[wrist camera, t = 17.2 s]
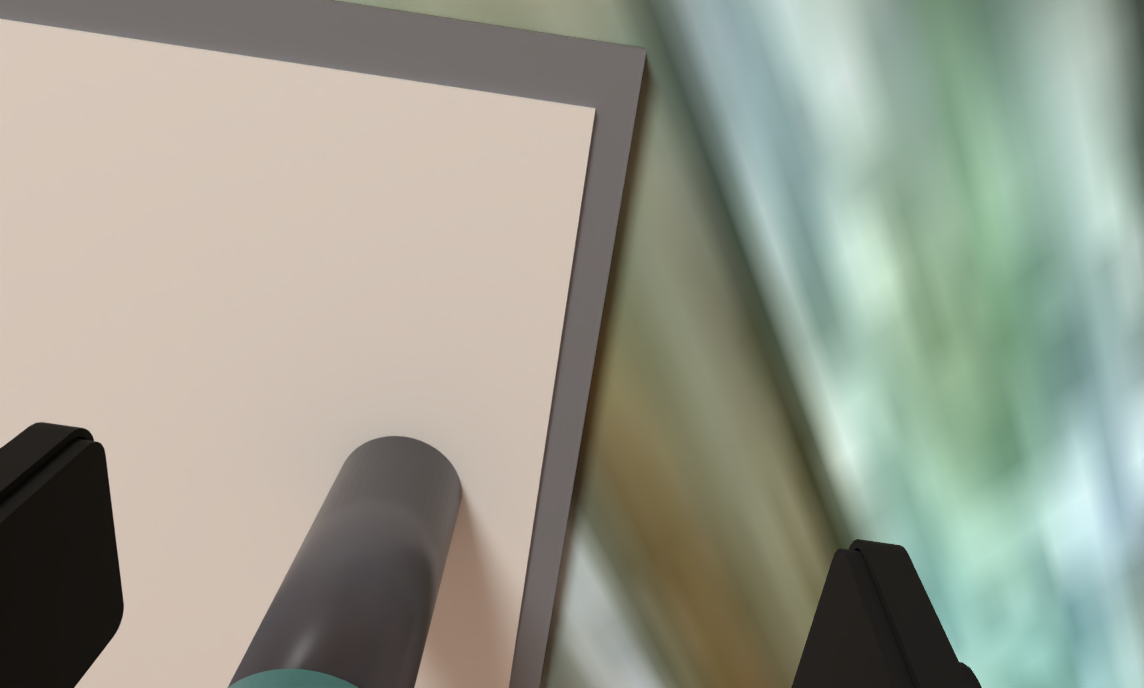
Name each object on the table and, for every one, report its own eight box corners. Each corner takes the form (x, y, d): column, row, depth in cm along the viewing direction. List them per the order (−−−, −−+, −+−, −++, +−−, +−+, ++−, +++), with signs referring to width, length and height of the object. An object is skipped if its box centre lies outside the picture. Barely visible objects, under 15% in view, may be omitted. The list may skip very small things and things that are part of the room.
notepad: (644, 47, 21) (647, 50, 20) (526, 754, 30) (524, 778, 29) (-101, -67, 20) (-135, -70, 19) (12, 692, 29) (-6, 715, 28)
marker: (471, 442, 24) (369, 830, 13) (459, 551, 25) (358, 983, 14) (337, 424, 24) (119, 800, 13) (333, 535, 25) (134, 958, 14)
